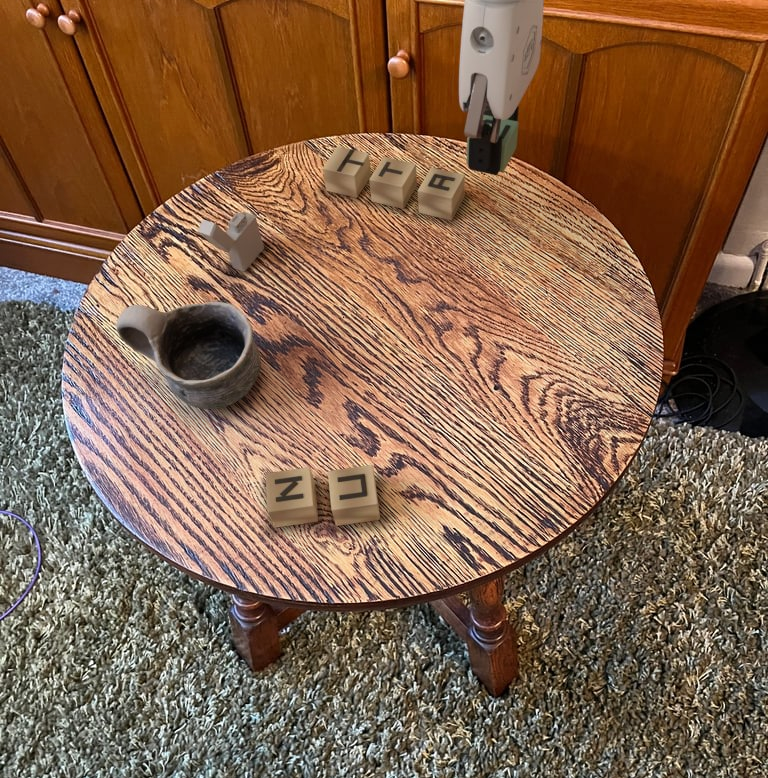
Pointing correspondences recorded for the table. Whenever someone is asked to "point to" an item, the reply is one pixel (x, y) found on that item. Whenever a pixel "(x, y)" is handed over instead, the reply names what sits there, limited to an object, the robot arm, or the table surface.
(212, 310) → the mug
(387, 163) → the right tile t
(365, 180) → the beige letter block
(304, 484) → the left tile
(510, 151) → the green number block
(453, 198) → the right tile
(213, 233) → the grey y-shaped block
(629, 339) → the table surface
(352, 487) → the left tile
